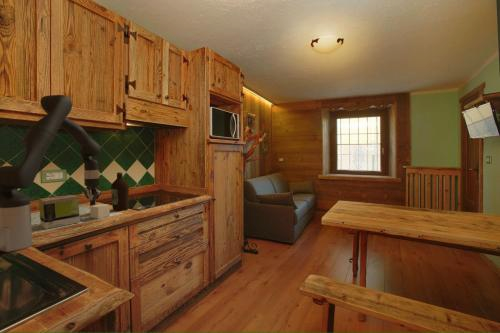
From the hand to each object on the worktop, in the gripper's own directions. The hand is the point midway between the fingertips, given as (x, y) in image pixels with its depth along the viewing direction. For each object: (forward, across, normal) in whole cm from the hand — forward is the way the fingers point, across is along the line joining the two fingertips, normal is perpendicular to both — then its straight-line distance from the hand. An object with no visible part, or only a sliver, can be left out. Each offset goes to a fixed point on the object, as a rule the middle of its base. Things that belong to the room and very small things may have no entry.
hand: (92, 206), depth 145 cm
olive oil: (+6, +1, +18) cm, 19 cm away
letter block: (+6, +6, 0) cm, 8 cm away
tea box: (+6, 0, -18) cm, 19 cm away
